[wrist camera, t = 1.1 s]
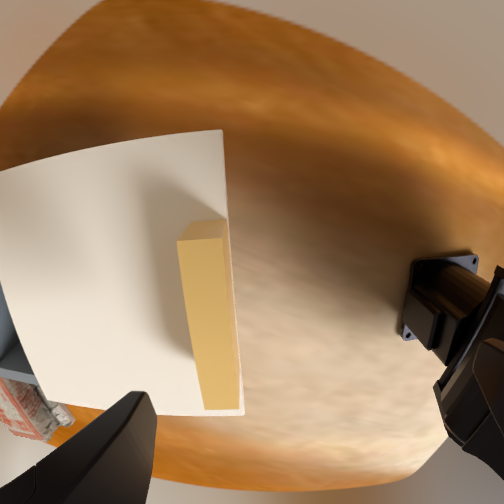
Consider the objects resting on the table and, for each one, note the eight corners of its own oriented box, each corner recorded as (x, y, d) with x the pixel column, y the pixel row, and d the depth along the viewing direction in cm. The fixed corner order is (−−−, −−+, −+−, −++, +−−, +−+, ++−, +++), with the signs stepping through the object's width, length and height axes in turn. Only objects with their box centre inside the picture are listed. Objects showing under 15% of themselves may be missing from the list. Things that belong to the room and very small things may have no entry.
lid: (222, 131, 10) (214, 119, 7) (244, 403, 14) (245, 456, 11) (-8, 175, 10) (-57, 185, 7) (53, 391, 14) (28, 428, 10)
